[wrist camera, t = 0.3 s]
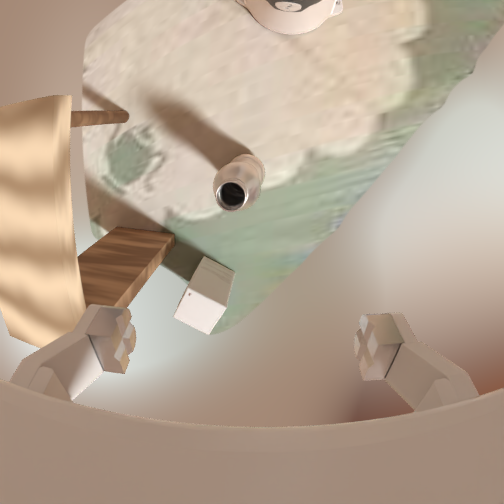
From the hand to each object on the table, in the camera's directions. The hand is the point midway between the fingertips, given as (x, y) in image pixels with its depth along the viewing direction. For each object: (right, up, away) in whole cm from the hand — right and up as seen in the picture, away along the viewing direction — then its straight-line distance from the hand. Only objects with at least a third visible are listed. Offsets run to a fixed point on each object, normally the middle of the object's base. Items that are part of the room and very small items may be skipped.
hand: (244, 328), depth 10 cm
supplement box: (-8, -3, +52) cm, 53 cm away
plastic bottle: (-1, +17, +43) cm, 46 cm away
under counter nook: (-20, +17, +45) cm, 52 cm away
